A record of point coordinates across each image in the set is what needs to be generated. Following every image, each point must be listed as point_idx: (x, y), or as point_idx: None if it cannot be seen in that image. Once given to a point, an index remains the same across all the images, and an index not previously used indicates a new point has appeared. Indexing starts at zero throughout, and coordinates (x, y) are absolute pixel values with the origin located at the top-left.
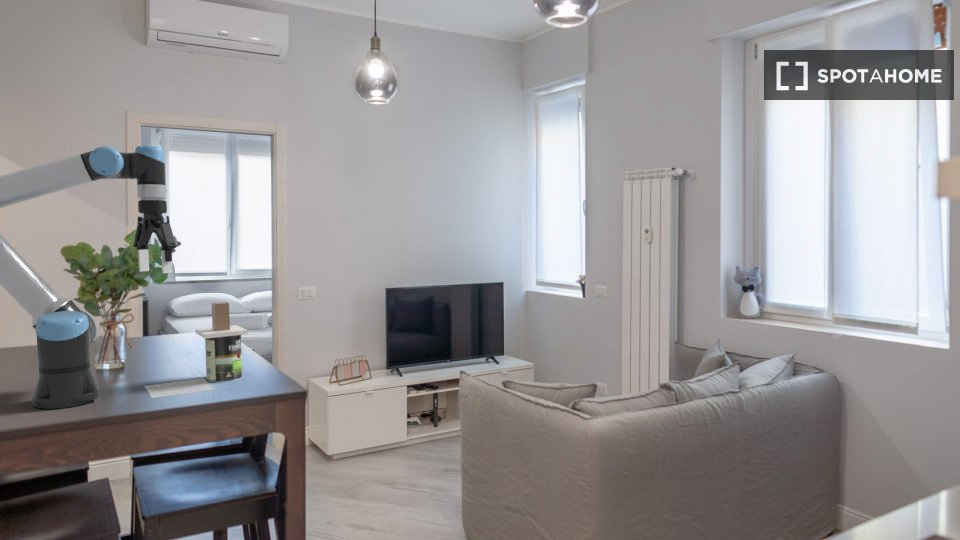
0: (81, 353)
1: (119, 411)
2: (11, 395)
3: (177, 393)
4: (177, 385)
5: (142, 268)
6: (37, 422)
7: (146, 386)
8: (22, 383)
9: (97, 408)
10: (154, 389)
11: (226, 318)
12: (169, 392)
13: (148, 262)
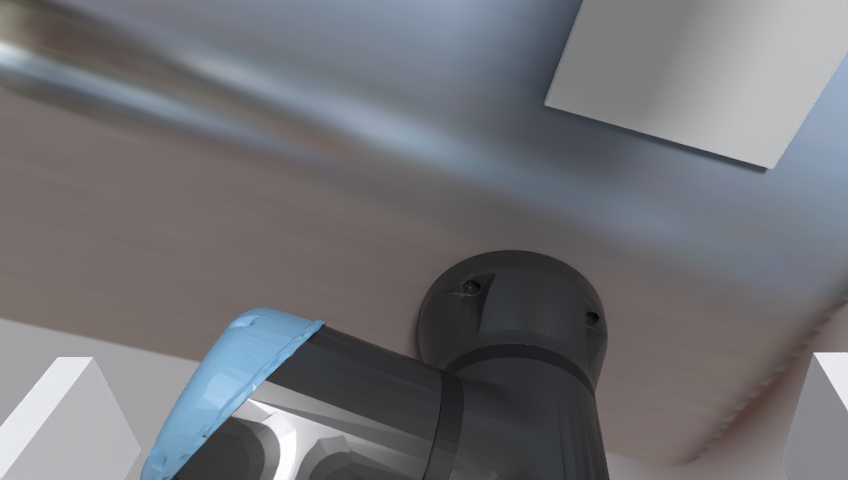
0: (599, 435)
1: (795, 281)
2: None
3: (812, 72)
4: (672, 4)
5: (108, 464)
6: (678, 424)
7: (562, 103)
8: (134, 321)
9: (687, 304)
10: (646, 104)
11: None
12: (760, 86)
13: (8, 476)
